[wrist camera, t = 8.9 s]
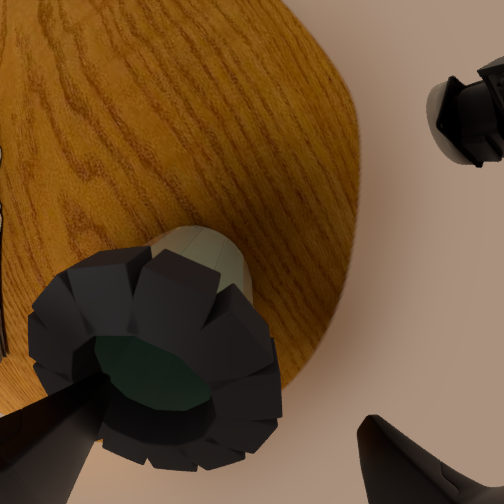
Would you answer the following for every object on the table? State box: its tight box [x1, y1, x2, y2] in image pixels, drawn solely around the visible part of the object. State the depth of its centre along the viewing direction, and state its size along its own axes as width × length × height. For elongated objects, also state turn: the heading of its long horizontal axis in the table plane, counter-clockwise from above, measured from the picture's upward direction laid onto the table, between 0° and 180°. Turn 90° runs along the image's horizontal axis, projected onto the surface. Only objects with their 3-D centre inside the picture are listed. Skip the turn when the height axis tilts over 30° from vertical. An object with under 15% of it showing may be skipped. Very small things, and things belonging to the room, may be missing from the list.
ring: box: [28, 245, 282, 472], centre depth 8 cm, size 9×9×2 cm
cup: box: [94, 226, 253, 411], centre depth 14 cm, size 7×7×9 cm
